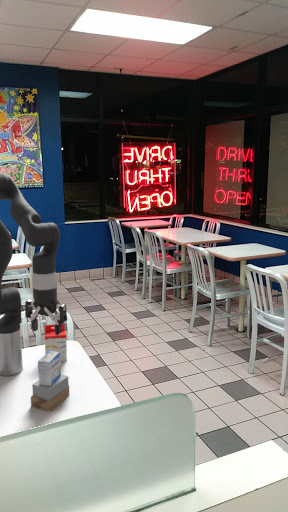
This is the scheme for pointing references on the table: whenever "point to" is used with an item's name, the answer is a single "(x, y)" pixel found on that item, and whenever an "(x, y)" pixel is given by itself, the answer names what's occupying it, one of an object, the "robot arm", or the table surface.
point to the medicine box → (49, 368)
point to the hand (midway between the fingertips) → (46, 332)
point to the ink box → (56, 341)
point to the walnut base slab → (50, 404)
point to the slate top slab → (50, 388)
